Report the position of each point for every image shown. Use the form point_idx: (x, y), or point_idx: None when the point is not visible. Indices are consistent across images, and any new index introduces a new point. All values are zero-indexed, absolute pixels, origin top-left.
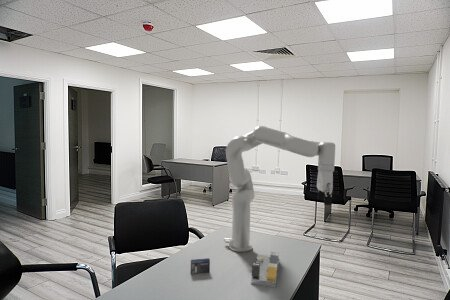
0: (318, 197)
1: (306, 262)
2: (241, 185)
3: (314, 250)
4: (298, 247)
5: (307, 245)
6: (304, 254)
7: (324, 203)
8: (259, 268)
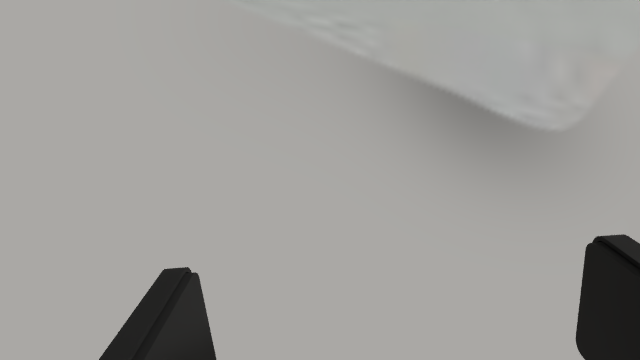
0: (622, 265)
1: (294, 17)
2: None
3: (474, 101)
4: (520, 2)
5: (555, 71)
6: (408, 25)
7: (159, 277)
8: None
